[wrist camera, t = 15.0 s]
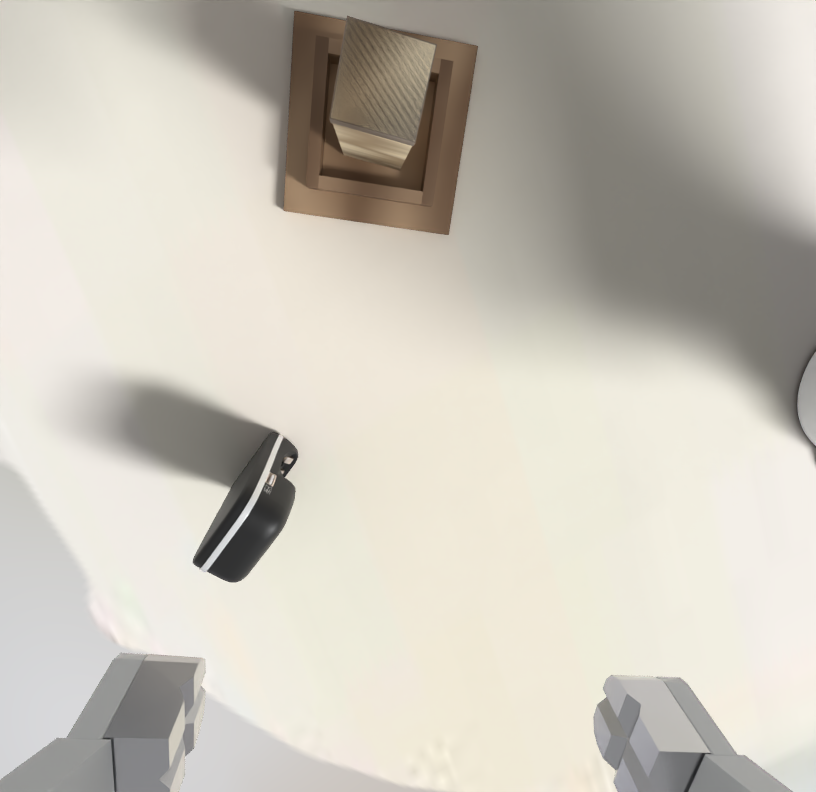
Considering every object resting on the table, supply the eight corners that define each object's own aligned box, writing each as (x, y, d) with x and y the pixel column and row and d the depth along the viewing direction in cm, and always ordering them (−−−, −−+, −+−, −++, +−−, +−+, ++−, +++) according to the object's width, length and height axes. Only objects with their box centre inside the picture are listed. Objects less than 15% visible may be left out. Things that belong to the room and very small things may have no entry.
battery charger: (268, 509, 43) (234, 602, 32) (230, 487, 42) (182, 575, 31) (312, 450, 42) (292, 527, 31) (274, 426, 41) (239, 497, 30)
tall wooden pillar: (414, 107, 33) (437, 44, 22) (400, 171, 34) (415, 142, 23) (354, 89, 33) (346, 15, 21) (342, 155, 34) (329, 118, 23)
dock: (475, 50, 33) (484, 34, 30) (447, 234, 37) (452, 235, 34) (296, 16, 32) (289, -4, 29) (285, 211, 35) (278, 209, 33)
